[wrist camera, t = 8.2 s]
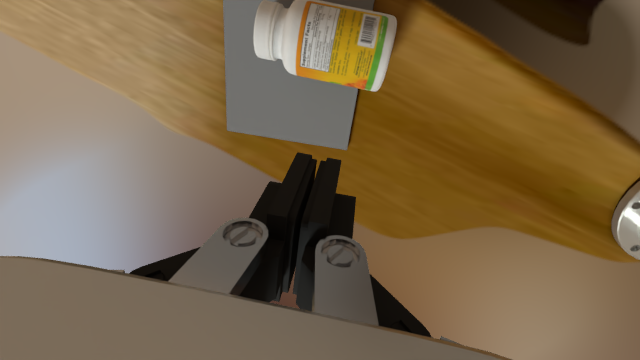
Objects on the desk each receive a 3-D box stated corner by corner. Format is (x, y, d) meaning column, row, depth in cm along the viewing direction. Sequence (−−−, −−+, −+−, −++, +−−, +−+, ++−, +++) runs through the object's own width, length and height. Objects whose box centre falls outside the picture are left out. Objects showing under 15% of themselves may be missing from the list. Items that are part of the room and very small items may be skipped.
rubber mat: (374, -3, 25) (374, -3, 24) (347, 147, 31) (346, 150, 31) (225, -25, 25) (222, -25, 25) (229, 128, 32) (227, 130, 31)
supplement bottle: (378, 77, 27) (269, 54, 28) (397, 8, 24) (272, -17, 24) (377, 104, 23) (249, 77, 23) (400, 26, 20) (249, -5, 20)
